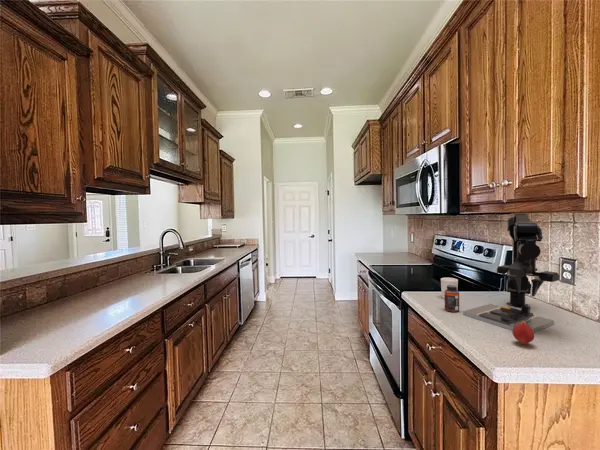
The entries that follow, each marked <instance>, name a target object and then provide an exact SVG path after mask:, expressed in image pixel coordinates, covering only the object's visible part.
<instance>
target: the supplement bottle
mask: <svg viewBox="0 0 600 450" xmlns="http://www.w3.org/2000/svg"><path fill="white" fill-rule="evenodd" d="M444 310H445V311H447V312H451V313H457V312H459V311H460V292H459V290H457V286H455V285H447V290H445V299H444Z"/></svg>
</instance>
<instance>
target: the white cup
mask: <svg viewBox="0 0 600 450" xmlns="http://www.w3.org/2000/svg"><path fill="white" fill-rule="evenodd" d="M447 285H455V286H457V291H459V290H458V285H459V279H457V278H454V277H442V278H440V288H441V289H440V290H441V298H442V299H443V300H445V290H447Z"/></svg>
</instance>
